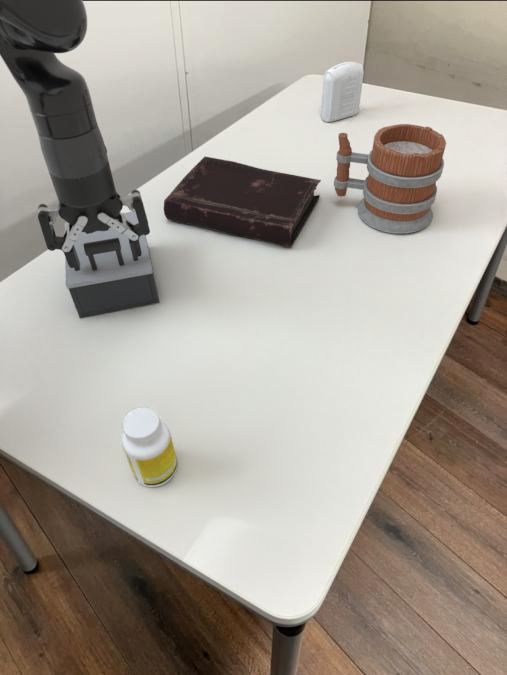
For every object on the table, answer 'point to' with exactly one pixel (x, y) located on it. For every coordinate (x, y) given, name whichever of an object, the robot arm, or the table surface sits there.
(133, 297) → the dark grey open box
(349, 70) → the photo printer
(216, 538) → the table surface
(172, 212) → the diary
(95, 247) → the lid
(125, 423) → the supplement bottle
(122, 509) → the table surface
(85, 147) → the robot arm
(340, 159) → the mug
